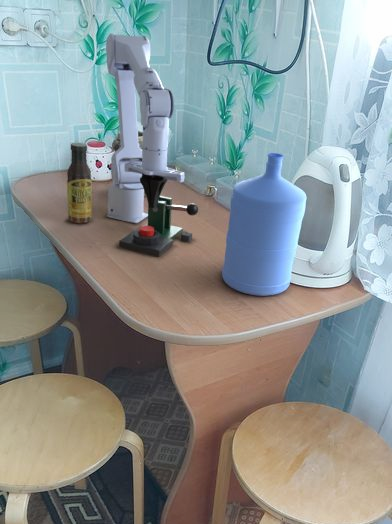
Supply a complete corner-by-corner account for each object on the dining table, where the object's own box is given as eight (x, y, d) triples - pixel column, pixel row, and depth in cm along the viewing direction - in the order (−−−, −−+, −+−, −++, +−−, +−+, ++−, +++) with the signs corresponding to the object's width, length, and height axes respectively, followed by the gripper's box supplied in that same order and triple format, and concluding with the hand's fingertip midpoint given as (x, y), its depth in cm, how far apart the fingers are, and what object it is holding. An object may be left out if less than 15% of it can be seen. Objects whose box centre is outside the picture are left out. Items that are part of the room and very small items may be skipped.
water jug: (271, 305, 109) (297, 171, 94) (208, 282, 116) (222, 153, 100) (299, 279, 121) (326, 156, 105) (241, 260, 127) (258, 141, 111)
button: (136, 235, 127) (136, 228, 126) (143, 231, 129) (143, 224, 128) (149, 238, 126) (150, 232, 125) (156, 234, 128) (156, 227, 127)
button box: (119, 247, 128) (119, 233, 126) (134, 236, 134) (134, 223, 132) (159, 257, 125) (159, 243, 123) (172, 245, 131) (173, 232, 129)
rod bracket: (182, 232, 139) (185, 198, 134) (168, 243, 132) (170, 208, 127) (149, 224, 142) (150, 191, 137) (134, 235, 135) (134, 200, 130)
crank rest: (180, 240, 134) (180, 234, 133) (183, 237, 136) (183, 231, 135) (188, 242, 134) (189, 236, 133) (191, 239, 135) (192, 233, 134)
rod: (199, 214, 131) (199, 202, 130) (195, 217, 129) (195, 205, 127) (157, 209, 135) (157, 198, 134) (152, 212, 133) (152, 201, 131)
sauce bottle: (71, 225, 137) (67, 147, 125) (65, 217, 141) (60, 141, 130) (95, 223, 139) (93, 146, 128) (88, 215, 144) (85, 140, 133)
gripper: (118, 145, 115) (118, 205, 123) (177, 157, 111) (173, 217, 119) (132, 140, 121) (132, 197, 129) (189, 150, 117) (185, 209, 125)
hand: (152, 206), depth 124 cm, fingers closed
